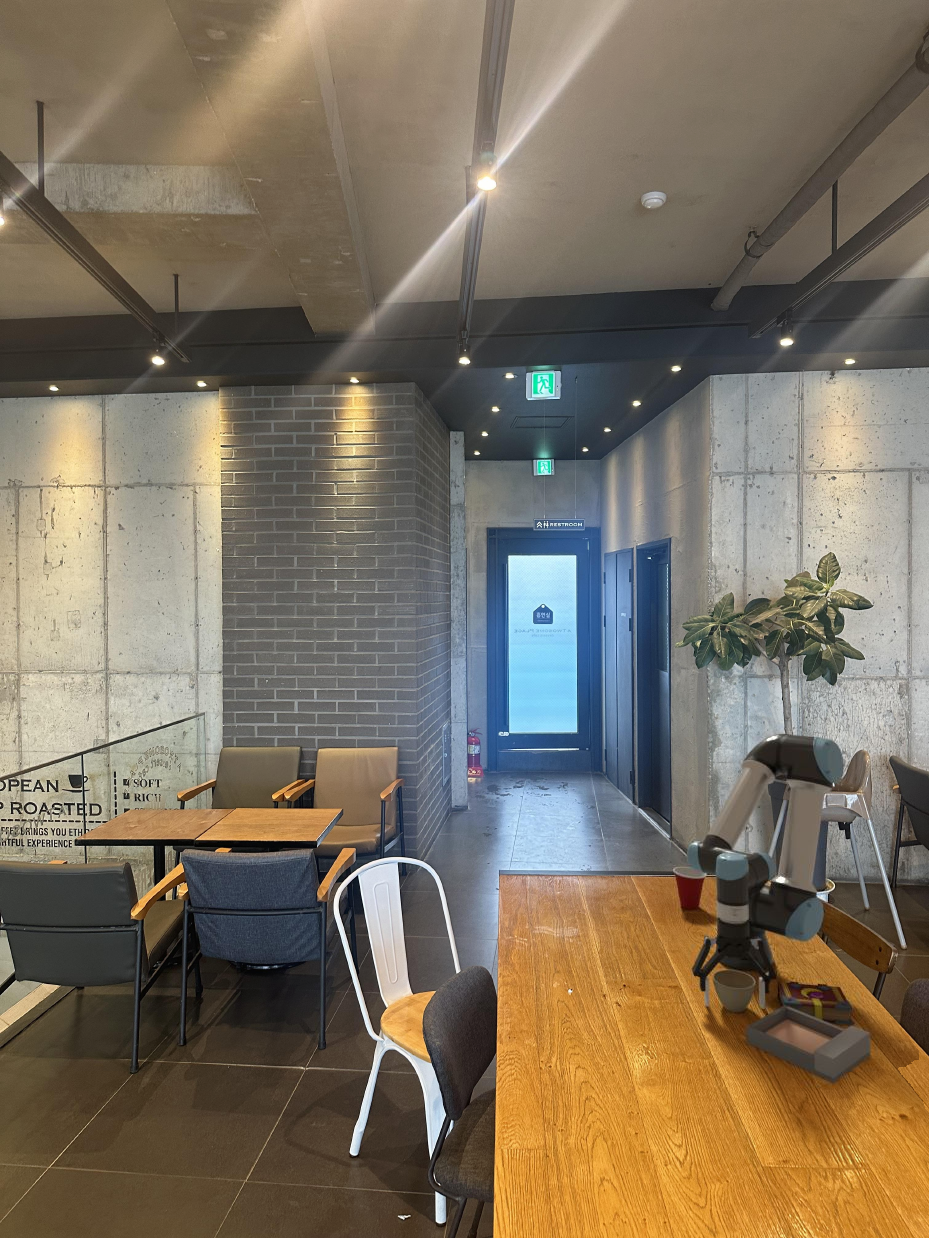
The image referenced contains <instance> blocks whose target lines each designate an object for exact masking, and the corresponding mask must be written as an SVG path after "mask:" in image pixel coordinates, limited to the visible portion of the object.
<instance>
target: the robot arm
mask: <svg viewBox="0 0 929 1238" xmlns="http://www.w3.org/2000/svg"><path fill="white" fill-rule="evenodd" d="M844 765H845V764H844V757H843V753H842V751H841V748H840V746H839V745H838V744H837V742H835V741H834V740H832V739H829V738H824V737H818V736H808V735H796V734H788V733H777V734H773V735H771V736H767V738H765V739H762V741H760V742H758V744H756V745H755V746H754V747H753V748H752V749H751V750H750V751H749V752H748V754H747V755H746V756H745V758H744V759H743V762H742V764H741V769H742V771H741V772H740V774H739V777H738V779H737V780H736V781H735V784H734V786H733V787H732V789H731V791H730V793H729V794H728V796H727V798H726V800H725V802H724V803H723V806H722V807H721V809H720V811H719V813H718V814H717V816H716V818H715V820H714V822H713V824H712V825H711V827H710V829H709V830H708V833H707V834H706V836H705V838H704V839H703V841H696V840H695V841H693V842H692V843H690V844H689V846H688V848H687V852H686V861H687V863H688V865H689V866H690V867H691V868H693V869H695V870H698V871H701V872H703V873H706V874H708V875H713V876H715V878H716V879H715V880H716V915H717V918H716V927H717V928H716V930H717V931H716V934H717V935H716V937H709V936H708V935H704V937H703V944H702V946H701V949H700V951H699V954H698V955H697V957H696V959H695V961H694V964H693V966H692V968H691V972H692V974H693V976H694V977H697V978H699V989H700V991H701V992H703V1001H704V1004H705V1007H710V979H709V977H708V976H709V975H710V974H711V973H712V971H713V970H714V969H715V968H716V966H718V964H719V963H721V964H723V965H725V966H727V967H730V968H733V969H737V970H741V971H756V972H757V973H758V974H759V977H758V997H759V999H758V1002H759V1003H758V1004H759V1006H760V1008H761V1009H762V1010H764V1009H766V995H769V993H770V984H771V980H777V978H778V976H777V974H776V972H775V969H774V968H773V963H774V962H773V961H774V957H773V955H774V954H773V952H772V949H771V946H770V943H769V941H768V937H767V933H766V932H770V933H771V934H776V935H778V936H782V937H785V938H787V939H788V940H795V941H800V942H809V941H811V940H812V939H813V938H814V937H815V936H816V935H817V933H819V931H820V929H821V927H822V923H823V919H824V914H825V911H824V905H823V902H822V901H821V900H820V899H819V898H817V896H818V890H817V889H816V888H815V886H814V884H813V878H814V872H815V866H816V865H815V864H816V857H817V851H818V844H819V837H820V836H819V835H820V830H821V822H822V814H823V807H824V802H825V801H824V800H825V795H826V794H828V793H829V792H831V791H833V784H836V783H839V782H840V781H841V780H842V778H843V775H844V772H845V771H844V769H845V767H844ZM781 775H783V776H786V779H785V780H786V783H787V784H788V785H789V787H790V794H789V800H788V808H787V814H786V819H785V824H784V825H785V826H784V833H783V840H782V844H781V845H782V847H781V853H780V857H779V858H780V859H779V865H778V866H779V867H778V870H777V865H776V862H775V860H774V858H773V857H772V856H771V855H770V854H768V853H766V852H764V851H758V852H756V851H755V852H753V853H746V852H743V851H738V850H734V848H735V847H736V845H737V843H738V841H739V839H740V837H741V835H742V834H743V831H744V829H745V828H746V826H747V824H748V822H749V820H750V819H751V817H752V815H753V812H754V811H755V809H756V807H757V805H758V803H759V801H760V800H761V798H762V796H763V794H764V792H765V791H766V788H767V786H768V785H769V784H773V783H774V781H775V779H776V778H777V777H778V776H781ZM769 882H770V885H766V884H767V883H769ZM714 945H716V946H715V952H714V953H713V954H712V956H711V957H710V958H709V959H708V960H707V961H706V959H707V957H708V955H709V953H710V951H711V948H713V947H714ZM705 962H706V963H705ZM704 963H705V964H704ZM766 969H767V971H768V972H766V971H765V970H766Z"/></svg>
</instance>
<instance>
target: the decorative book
mask: <svg viewBox="0 0 929 1238" xmlns="http://www.w3.org/2000/svg"><path fill="white" fill-rule="evenodd" d="M776 986H777V988H776V989H777V991H776V992H777V995H776V996H777V999H778V1002H779V1005H780V1007H782V1006H784V1005H786V1006H788V1007H791V1008H793V1009H796V1010H798V1011H801V1012H803V1013H806V1014H808V1015H810V1016H813V1017H815V1018H818V1019H820V1020H823V1021H825V1022H828V1023H830V1024H834V1025H841V1026H842V1025H843V1026H845V1025H846V1026H847V1025H848V1026H851V1025H852V1026H854V1025H856V1024H855V1022H854V1020H853V1019H852V1015H851V1013H853V1006H852V1005H851V1003H850V1001H849V1000H848V999H847V997H846V996H845V994H844V992H843V990H842V989H841V987H840V986H835V985H834V986H832V985H828V984H827V983H817V984H807V983H806V984H805V983H799V982H798V981H789V982H779V981H777V984H776ZM850 1012H851V1013H850Z"/></svg>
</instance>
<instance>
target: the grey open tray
mask: <svg viewBox="0 0 929 1238" xmlns="http://www.w3.org/2000/svg"><path fill="white" fill-rule="evenodd" d="M746 1044H748V1045H751V1046H753V1047H755V1048H757V1049H760V1050H761V1051H763V1052H766V1053H767V1054H770V1055H772V1056H774V1057H777V1058H779V1059H781V1060H783V1061H785V1062H788V1063H790V1064H791V1065H794V1066H796V1067H798V1068H800V1069H802V1070H805V1071H807V1072H808V1073H811V1074H813V1075H815V1076H817V1077H819V1078H821V1079H824V1080H826V1081H828V1082H830V1083H833V1084H834V1083H836V1082H837V1081H838V1080H839V1079H841V1078H842V1077H843V1076H845V1075H847V1074H848V1073H850V1071H852V1070H853V1069H855V1068H856V1067H857V1066H858V1065H860V1064H862V1063H863V1062H864V1061H865V1060H866V1059H867V1058H869V1057H870V1056H871V1033H870V1031H867V1030H864V1029H861V1028H859V1027H857V1026H854V1025H849V1027H847V1028H846V1029H845V1028H843V1027H840V1026H837V1025H836V1024H834V1023H830V1022H825V1021H823V1020H820V1019H818V1018H815V1017H813V1016H810V1015H808V1014H806V1013H803V1012H801V1011H798V1010H796V1009H793V1008H791V1007H788V1006H786V1005H784V1006H782V1007H781V1006H780V1007H779V1008H777V1009H776V1010H773V1011H772V1012H770V1013H769V1014H767V1015H765V1016H763V1017H762V1018H760V1019H758V1020H756V1021H754V1022H753V1023H751V1024H749V1025H748V1026H746Z"/></svg>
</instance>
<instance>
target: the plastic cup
mask: <svg viewBox="0 0 929 1238" xmlns="http://www.w3.org/2000/svg"><path fill="white" fill-rule="evenodd" d="M672 871H673V873H674V877H675V881H676V886H677V892H678V893H677V894H678V899H679V903H680V907H681V908H683V909H685V910H691V911H692V910H693V911H694V910H698V909H699V907H700V902H701V897H702V891H703V886H704V883H705V878H706V877H707V875H708V873H703V872H701V871H698V870H695V869H693V868H691V867H689V866H678V867H677V866H676V867H674V868H673V870H672Z"/></svg>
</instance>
